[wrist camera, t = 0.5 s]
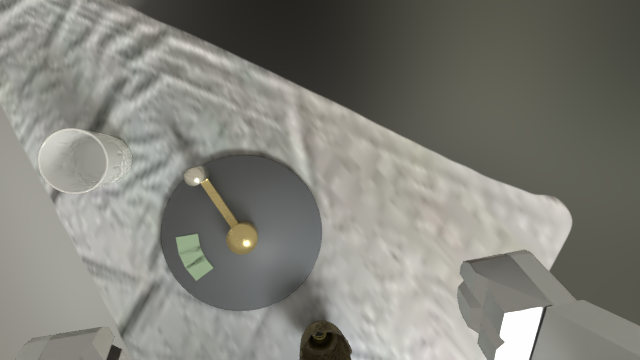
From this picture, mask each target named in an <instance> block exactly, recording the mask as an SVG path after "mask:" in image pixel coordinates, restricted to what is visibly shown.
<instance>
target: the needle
mask: <svg viewBox="0 0 640 360" xmlns="http://www.w3.org/2000/svg"><path fill="white" fill-rule="evenodd" d="M209 176H210V172H209V170H208V168H206V167H205V166H197V167H193V168H189V169H188V170H186V171H185V173H184V180H185V182H186V183H187V184H188V185H190V186H196V185H199V184H201V185H202V186H203V188H204V189H205V191H206V192H207V194H208V195H209V196H210V198H211V199H212V201H213V202H214V204H215V205H216V207H217V208H218V209H219V211H220V212H221V214H222V215H223V217H224V218H225V220H226V221H227V222H228V224H229V225H230V227H231V228H230V230H229V232H228V234H227V237H226V242H227V246H228V247H229V249H230V250H231V251H232V252H234V253H236V254H240V255H244V254H248V253H250V252H251V251H252V250H253V249H254V248H255V247H256V245H257V240H258V230H257V228H256V226H255V225H254V224H253V223H251V222H249V221H245V220H243V221H238V220H237V219H236V217H235V216H234V214H233V213H232V211H231V210H230V208H229V207H228V206H227V204H226V203H225V201H224V200H223V198H222V197H221V195H220V194H219V193H218V191H217V190H216V188H215V187H214V185H213V184H212V182H211V181H210V179H209Z"/></svg>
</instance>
